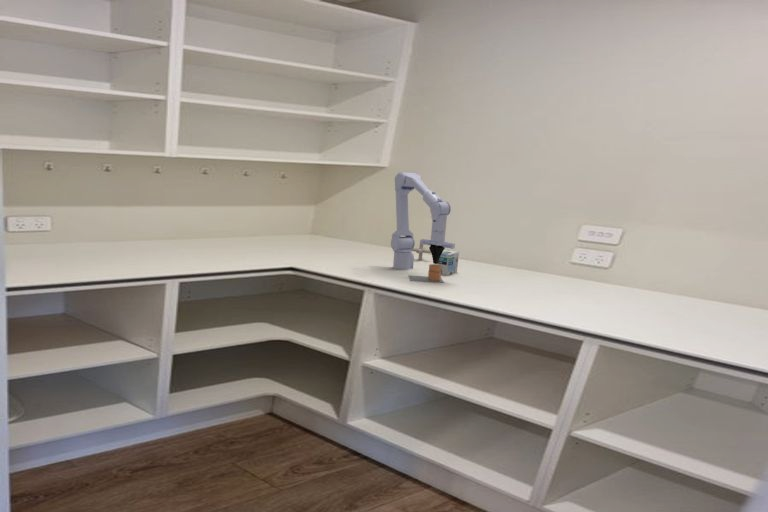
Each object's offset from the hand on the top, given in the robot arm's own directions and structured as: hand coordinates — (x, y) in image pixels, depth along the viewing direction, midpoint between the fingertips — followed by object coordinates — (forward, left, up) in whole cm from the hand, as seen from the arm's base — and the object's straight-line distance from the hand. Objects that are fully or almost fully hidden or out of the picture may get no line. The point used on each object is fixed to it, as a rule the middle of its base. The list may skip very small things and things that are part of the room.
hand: (435, 263), depth 217 cm
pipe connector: (-36, -31, -8) cm, 48 cm away
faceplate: (+2, -3, -8) cm, 9 cm away
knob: (0, 0, -7) cm, 7 cm away
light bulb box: (-16, -4, -8) cm, 18 cm away
